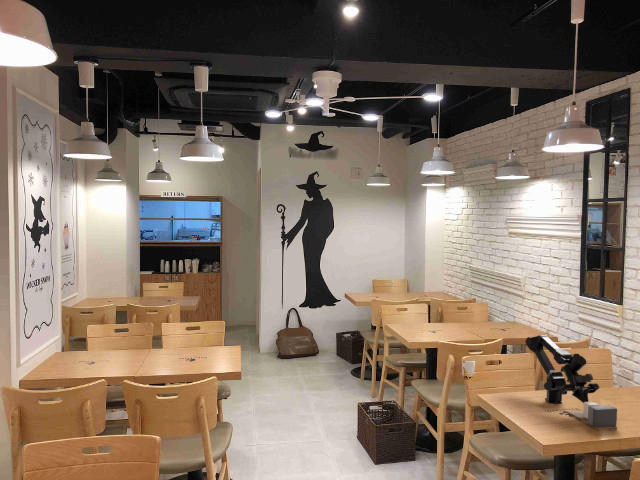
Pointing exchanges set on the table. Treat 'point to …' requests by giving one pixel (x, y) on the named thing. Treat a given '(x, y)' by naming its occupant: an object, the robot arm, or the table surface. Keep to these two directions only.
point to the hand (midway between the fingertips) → (587, 405)
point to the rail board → (580, 417)
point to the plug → (585, 409)
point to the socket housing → (602, 415)
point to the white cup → (468, 367)
